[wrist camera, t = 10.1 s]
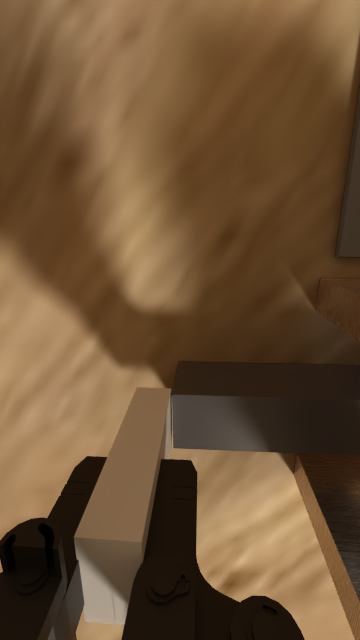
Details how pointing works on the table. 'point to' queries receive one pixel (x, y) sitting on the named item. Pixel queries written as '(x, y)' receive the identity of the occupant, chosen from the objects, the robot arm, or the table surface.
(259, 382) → the plug
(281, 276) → the table surface
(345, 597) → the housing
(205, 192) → the table surface
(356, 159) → the mat
